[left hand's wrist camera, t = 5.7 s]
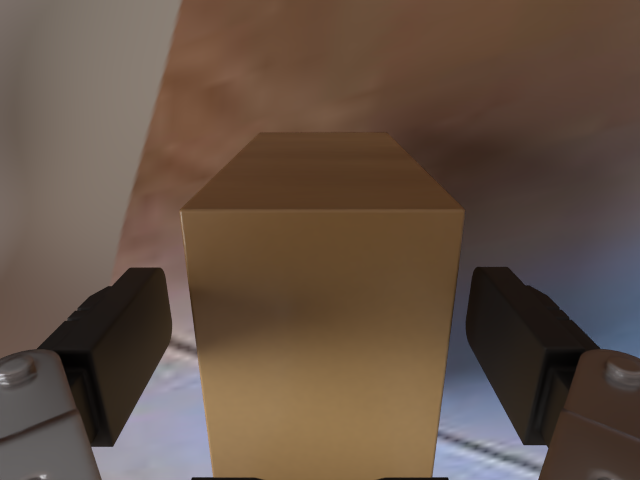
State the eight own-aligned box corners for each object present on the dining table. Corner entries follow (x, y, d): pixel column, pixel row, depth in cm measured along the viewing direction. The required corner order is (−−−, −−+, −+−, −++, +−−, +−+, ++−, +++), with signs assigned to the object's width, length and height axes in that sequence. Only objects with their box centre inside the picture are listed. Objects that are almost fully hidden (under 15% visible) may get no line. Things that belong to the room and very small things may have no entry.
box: (258, 132, 21) (177, 209, 9) (387, 132, 21) (467, 209, 9) (276, 450, 28) (242, 713, 17) (370, 451, 28) (403, 715, 17)
